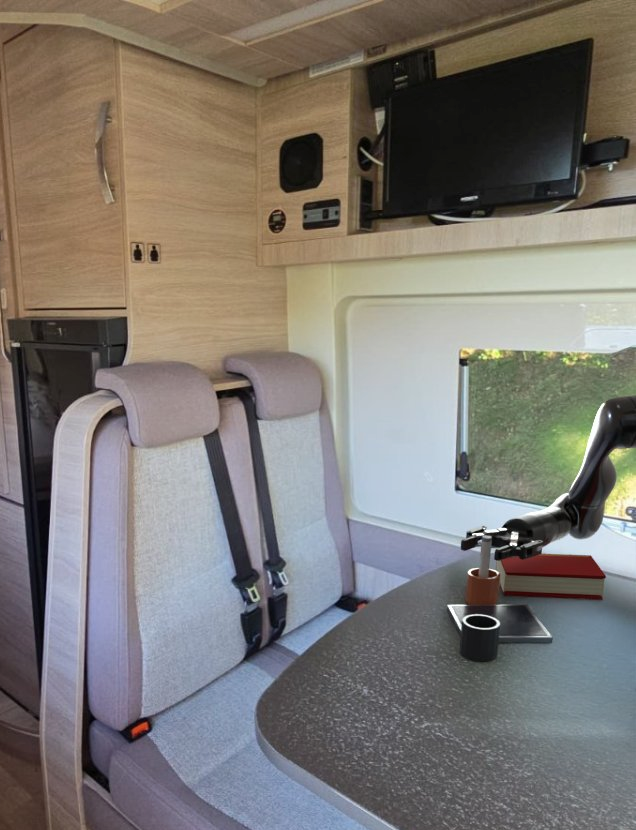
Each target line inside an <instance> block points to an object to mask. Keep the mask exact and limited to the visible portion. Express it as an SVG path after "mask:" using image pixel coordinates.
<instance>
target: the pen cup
mask: <svg viewBox="0 0 636 830" xmlns="http://www.w3.org/2000/svg"><path fill="white" fill-rule="evenodd" d="M478 575H479V567H475V568H471V569H468V571H467V573H466V585H465V595H464V598H465V599H464V600H465V603H466V604H467V605H498V601H499V593H500V573H499V572H497V571H496V569H492V568H489V574H488V578H480V577H478Z"/></svg>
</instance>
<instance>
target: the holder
mask: <svg viewBox="0 0 636 830" xmlns="http://www.w3.org/2000/svg"><path fill="white" fill-rule="evenodd" d="M499 633H500V622H499V620H497V619H496V618H494V617H491V616H487V615H481V614H473V615H467V616H465V617H463V619H462V626H461V636H460V638H459V654H460V655H461V656H462V657H463V658H465V659H467V660H469V661H473V662H479V663H487V662H491V661H494V660H496V659H497V657H498V652H499V644H500V643H499Z"/></svg>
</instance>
